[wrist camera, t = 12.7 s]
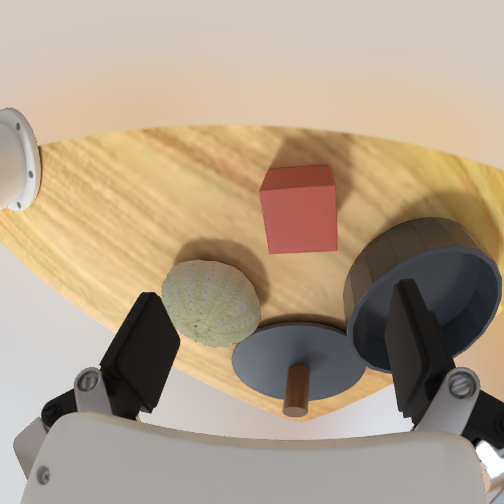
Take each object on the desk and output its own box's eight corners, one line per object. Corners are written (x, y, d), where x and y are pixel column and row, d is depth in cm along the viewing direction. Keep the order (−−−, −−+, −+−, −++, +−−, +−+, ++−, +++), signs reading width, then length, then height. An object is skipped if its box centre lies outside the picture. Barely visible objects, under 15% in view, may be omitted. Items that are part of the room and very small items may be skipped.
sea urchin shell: (216, 353, 29) (157, 365, 23) (195, 286, 32) (136, 283, 26) (286, 325, 25) (231, 336, 19) (257, 248, 28) (200, 234, 21)
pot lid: (218, 372, 35) (205, 415, 30) (263, 296, 26) (251, 352, 21) (321, 403, 36) (319, 443, 31) (392, 343, 27) (401, 393, 22)
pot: (314, 315, 27) (314, 352, 23) (402, 185, 19) (423, 210, 15) (419, 352, 28) (427, 383, 24) (503, 258, 20) (524, 286, 16)
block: (275, 223, 22) (269, 254, 19) (267, 169, 20) (258, 190, 16) (332, 220, 21) (337, 251, 18) (329, 164, 19) (335, 184, 15)
